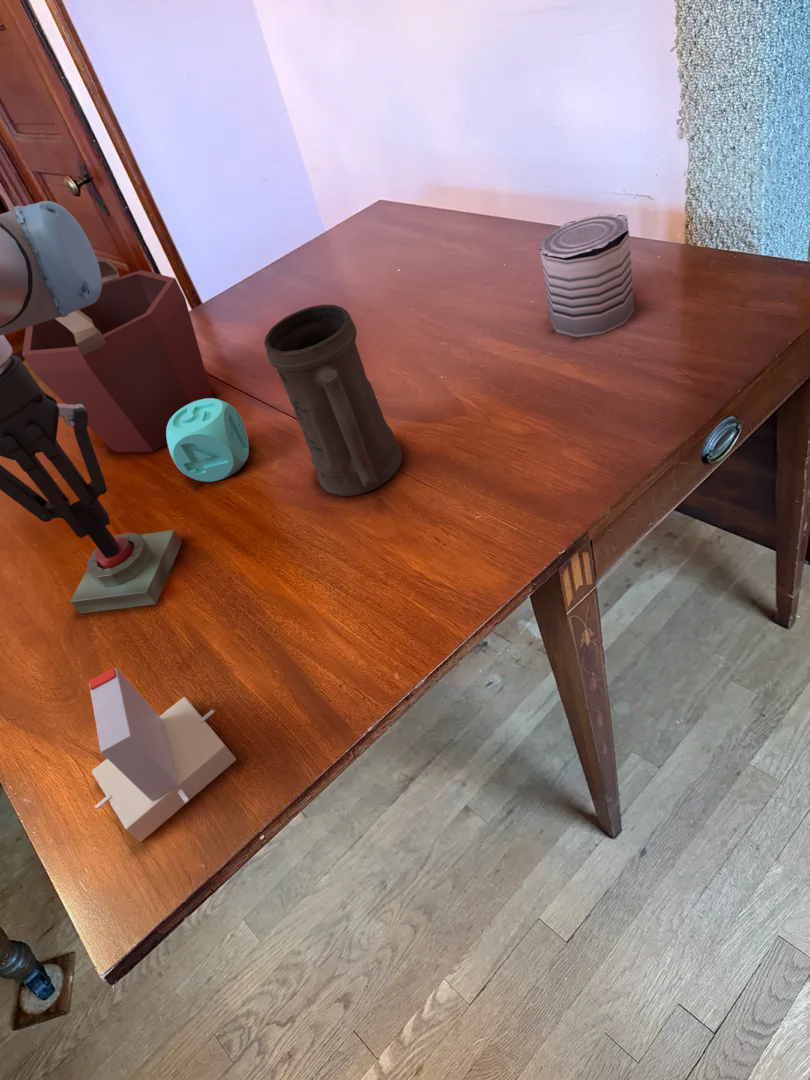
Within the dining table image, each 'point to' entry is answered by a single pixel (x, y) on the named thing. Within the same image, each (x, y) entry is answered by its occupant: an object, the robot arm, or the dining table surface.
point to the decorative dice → (207, 440)
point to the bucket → (123, 358)
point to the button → (118, 558)
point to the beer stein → (333, 399)
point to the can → (588, 275)
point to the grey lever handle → (132, 734)
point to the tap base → (193, 763)
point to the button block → (129, 575)
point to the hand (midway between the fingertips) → (110, 548)
